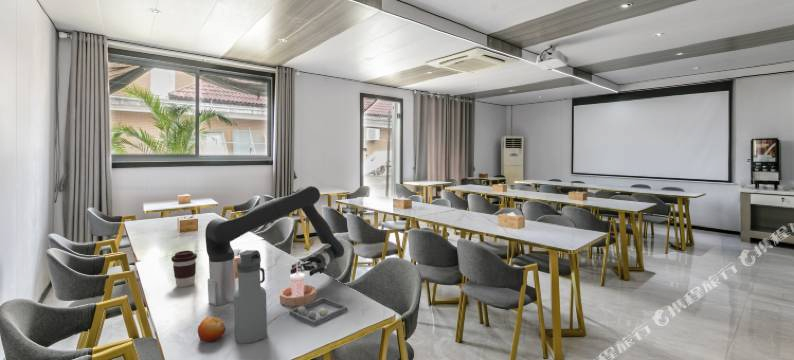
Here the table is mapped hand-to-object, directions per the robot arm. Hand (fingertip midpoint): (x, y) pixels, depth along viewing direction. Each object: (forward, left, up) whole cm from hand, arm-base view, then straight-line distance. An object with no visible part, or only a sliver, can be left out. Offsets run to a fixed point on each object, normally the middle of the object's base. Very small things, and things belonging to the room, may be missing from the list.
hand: (300, 272), depth 151 cm
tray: (-5, -18, -10) cm, 21 cm away
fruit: (-39, -7, -10) cm, 41 cm away
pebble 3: (-6, -22, -10) cm, 25 cm away
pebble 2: (-10, -21, -10) cm, 25 cm away
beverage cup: (-2, -1, -9) cm, 10 cm away
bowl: (-2, -1, -10) cm, 10 cm away
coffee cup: (-24, +53, -10) cm, 59 cm away
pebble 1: (-10, -15, -10) cm, 21 cm away
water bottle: (-30, -15, -10) cm, 35 cm away
